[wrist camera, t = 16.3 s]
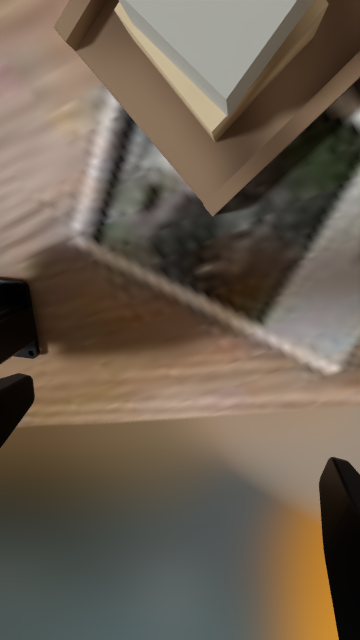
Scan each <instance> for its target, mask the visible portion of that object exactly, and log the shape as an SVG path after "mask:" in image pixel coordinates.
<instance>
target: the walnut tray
mask: <svg viewBox="0 0 360 640" xmlns="http://www.w3.org/2000/svg"><path fill="white" fill-rule="evenodd" d="M326 1H327V2H328V4H329V5H328V7H327V9H326V11H325V13H324V15H323V18H322V20H321V22H320V24H319V26H318V29H317V31H316V33H315V35H314V37H313V38H312V40H311V41H310V42H309V43H308V44H307V45H306V46H305V47H304V48H303V49H302V50H301V51H300V52H299V53H298V54H297V56H296V57H295V58H294V59H293V60H292V61H291V62H290V63H289V64H288V65H287V66H286V67H285V68H284V69H283V71H282V72H281V73H280V74H279V75H278V76H277V77H276V78H275V79H274V80H273V81H272V82H271V83H270V84H269V85H268V87H267V88H266V89H265V90H264V91H263V92H262V93H261V94H260V95H259V96H258V97H257V98H256V99H255V100H254V102H253V103H252V104H251V105H250V106H249V107H248V108H247V109H246V110H245V111H244V112H243V113H242V114H241V115H240V116H239V118H238V119H237V120H236V121H235V122H234V123H233V124H232V125H231V126H230V127H229V128H228V129H227V130H226V131H225V133H224V134H223V135H222V136H221V137H220V138H219V139H218V140H217V141H216V142H215V141H214V140H213V139H212V138H211V136H210V135H209V134H208V133H207V131H206V130H205V129H204V128H203V126H202V125H201V124H200V123H199V121H198V120H197V119H196V118H195V116H194V115H193V114H192V113H191V111H190V110H189V109H188V108H187V106H186V105H185V104H184V103H183V101H182V100H181V99H180V98H179V96H178V95H177V94H176V93H175V91H174V90H173V89H172V88H171V86H170V85H169V84H168V83H167V81H166V80H165V79H164V78H163V76H162V75H161V74H160V73H159V71H158V70H157V69H156V68H155V66H154V65H153V64H152V63H151V61H150V60H149V59H148V58H147V56H146V55H145V54H144V53H143V51H142V50H141V49H140V48H139V46H138V45H137V44H136V43H135V41H134V40H133V39H132V37H131V36H130V34H129V32H128V31H127V29H126V28H125V26H124V25H123V23H122V21H121V20H120V18H119V17H118V15H117V14H116V12H115V10H114V9H115V8H116V6H117V4H118V3H119V0H69V2H68V4H67V5H66V7H65V9H64V11H63V12H62V14H61V16H60V18H59V19H58V21H57V23H56V24H55V26H54V29H55V30H56V31H57V32H58V33H59V35H60V36H61V37H62V38H63V39H64V41H65V42H66V43H67V44H68V45H69V46H71V47H72V48H73V49H74V50H75V51H76V52H77V54H78V55H79V56H80V57H81V58H82V59H83V61H84V62H85V63H86V64H87V65H88V67H89V68H90V69H91V70H92V71H93V73H94V74H95V75H96V76H97V77H98V78H99V80H100V81H101V82H102V83H103V84H104V86H105V87H106V88H107V89H108V90H109V92H110V93H111V94H112V95H113V96H114V98H115V99H116V100H117V101H118V102H119V103H120V105H121V106H122V107H123V108H124V109H125V111H126V112H127V113H128V114H129V115H130V117H131V118H132V119H133V120H134V121H135V122H136V124H137V125H138V126H139V127H140V128H141V130H142V131H143V132H144V133H145V134H146V136H147V137H148V138H149V139H150V140H151V142H152V143H153V144H154V145H155V146H156V147H157V149H158V150H159V151H160V152H161V153H162V155H163V156H164V157H165V158H166V159H167V161H168V162H169V163H170V164H171V165H172V166H173V168H174V169H175V170H176V171H177V172H178V174H179V175H180V176H181V177H182V178H183V180H184V181H185V182H186V183H187V184H188V185H189V187H190V188H191V189H192V190H193V191H194V193H195V194H196V195H197V196H198V197H199V199H200V200H201V201H202V202H203V203H204V205H203V206H204V207H205V208H206V209H207V210H208V212H209V213H210V214H211V215H212V216H214V215H216V214H217V213H218V212H219V211H220V210H221V209H222V208H223V207H224V206H225V205H226V204H227V203H228V202H229V201H231V200H232V199H233V198H234V197H235V196H236V195H237V194H238V193H239V192H240V191H241V190H242V189H243V188H244V187H245V186H246V185H247V184H248V183H250V182H251V181H252V180H253V179H254V178H255V177H256V176H257V175H258V174H259V173H260V172H261V171H262V170H263V169H264V168H265V167H266V166H267V165H269V164H270V163H271V162H272V161H273V160H274V159H275V158H276V157H277V156H278V155H279V154H280V153H281V152H282V151H283V150H284V149H285V148H287V147H288V146H289V145H290V144H291V143H292V142H293V141H294V140H295V139H296V138H297V137H298V136H299V135H300V134H301V133H302V132H303V131H304V130H306V129H307V128H308V127H309V126H310V125H311V124H312V123H313V122H314V121H315V120H316V119H317V118H318V117H319V116H320V115H321V114H322V113H323V112H325V111H326V110H327V109H328V108H329V107H330V106H331V105H332V104H333V103H334V102H335V101H336V100H337V99H338V98H339V97H340V96H341V95H343V94H344V93H345V92H346V91H347V90H348V89H349V88H350V87H351V86H352V85H353V84H354V83H355V82H356V81H357V80H358V79H359V78H360V0H326Z"/></svg>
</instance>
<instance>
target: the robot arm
mask: <svg viewBox="0 0 360 640" xmlns="http://www.w3.org/2000/svg"><path fill="white" fill-rule="evenodd" d="M20 286H21V287H22V290H21V289H20ZM32 351H33V353H32ZM39 354H40V351H39V345H38V339H37V333H36V327H35V321H34V315H33V310H32V304H31V298H30V292H29V287H28V285H27V283H25V282H24V281H17V280H5V279H0V364H2V363H3V362H5V361H6V360H8V359H9V358H11V357H12V356H16V357H24V358H32V359H33V358H36V357H37V356H38V355H39ZM34 398H35V395H34V386H33V379H32V377H31V376H29V375H25V374H20V373H18V374H14V375H11V376H8V377H5V378H1V379H0V448H1V446H2V445H3V444H4V443H5V441H6V440H7V439H8V437H9V436H10V434H11V433H12V432H13V430H14V429H15V428H16V426H17V425H18V423H19V422H20V421H21V419H22V418H23V416H24V415H25V414H26V412H27V411H28V410H29V408H30V407H31V405H32V404H33V402H34ZM319 492H320V505H321V521H322V536H323V546H324V555H325V562H326V567H327V573H328V579H329V585H330V591H331V596H332V601H333V607H334V614H335V620H336V625H337V631H338V637H339V640H360V474H359V473H358V472H357V471H356V470H355V469H354V467H353V466H352V465H351V464H350V463H349V462H348V461H346V460H343V459H339V458H335V457H331V458H330V459H329V460H328V462H327V464H326V466H325V468H324V471H323V473H322V475H321V477H320V482H319Z"/></svg>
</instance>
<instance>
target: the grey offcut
mask: <svg viewBox="0 0 360 640" xmlns="http://www.w3.org/2000/svg"><path fill="white" fill-rule="evenodd" d="M119 1H120V3H121V5H122V7H123V8H124V10H125V12H126V14H127V15H128V17H129V19H130V20H131V22H132V24H133V25H134V26H135V27H136V28H137V29H138V30H139V31H140V32H141V33H142V34H143V35H144V36H145V37H146V38H147V39H148V40H149V41H150V42H151V43H153V44H154V45H155V46H156V47H157V48H158V49H159V50H160V51H161V52H162V53H163V54H164V55H165V56H166V57H167V58H168V59H169V60H170V61H171V62H172V63H173V64H174V65H175V66H176V67H177V68H178V69H179V70H180V71H181V72H182V73H183V74H184V75H185V76H186V77H187V78H188V79H189V80H190V81H191V82H192V83H193V84H194V85H195V86H196V87H197V88H198V89H199V90H201V91H202V92H203V93H204V94H205V95H206V96H207V97H208V98H209V99H210V100H211V101H212V102H213V103H214V104H215V105H216V106H217V107H218V108H219V109H220V110H221V111H222V112H223V113H224V114H225V115H226V116H227V117H229V115H230V114H231V113H232V111H233V110H234V109H235V107H236V106H237V105H238V103H239V102H240V100H241V99H242V98H243V96H244V95H245V94H246V92H247V91H248V90H249V88H250V87H251V86H252V84H253V83H254V81H255V80H256V79H257V77H258V76H259V75H260V73H261V72H262V71H263V69H264V68H265V67H266V65H267V64H268V62H269V61H270V60H271V58H272V57H273V56H274V54H275V53H276V52H277V50H278V49H279V48H280V46H281V45H282V43H283V42H284V41H285V39H286V38H287V37H288V35H289V34H290V33H291V31H292V30H293V29H294V27H295V26H296V24H297V23H298V22H299V20H300V19H301V18H302V16H303V15H304V14H305V12H306V11H307V10H308V8H309V7H310V5H311V4H312V3H313V1H314V0H119Z"/></svg>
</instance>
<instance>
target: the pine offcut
mask: <svg viewBox="0 0 360 640" xmlns="http://www.w3.org/2000/svg"><path fill="white" fill-rule="evenodd" d="M328 5H329V4H328V2H327V1H326V0H314V1H313V3H312V4H311V5H310V7H309V8H308V10H307V11H306V12H305V14H304V15H303V16H302V18H301V19H300V20H299V22H298V23H297V24H296V26H295V27H294V29H293V30H292V31H291V33H290V34H289V35H288V37H287V38H286V39H285V41H284V42H283V43H282V45H281V46H280V48H279V49H278V50H277V52H276V53H275V54H274V56H273V57H272V58H271V60H270V61H269V62H268V64H267V65H266V67H265V68H264V69H263V71H262V72H261V73H260V75H259V76H258V77H257V79H256V80H255V81H254V83H253V84H252V86H251V87H250V88H249V90H248V91H247V92H246V94H245V95H244V96H243V98H242V99H241V100H240V102H239V103H238V105H237V106H236V107H235V109H234V110H233V111H232V113H231V114H230V115H229V117H227V116H226V115H225V114H224V113H223V112H222V111H221V110H220V109H219V108H218V107H217V106H216V105H215V104H214V103H213V102H212V101H211V100H210V99H209V98H208V97H207V96H206V95H205V94H204V93H203V92H202V91H201V90H199V89H198V88H197V87H196V86H195V85H194V84H193V83H192V82H191V81H190V80H189V79H188V78H187V77H186V76H185V75H184V74H183V73H182V72H181V71H180V70H179V69H178V68H177V67H176V66H175V65H174V64H173V63H172V62H171V61H170V60H169V59H168V58H167V57H166V56H165V55H164V54H163V53H162V52H161V51H160V50H159V49H158V48H157V47H156V46H155V45H154V44H153V43H151V42H150V41H149V40H148V39H147V38H146V37H145V36H144V35H143V34H142V33H141V32H140V31H139V30H138V29H137V28H136V27H135V26H134V25H133V24H132V22H131V20H130V19H129V17H128V15H127V14H126V12H125V10H124V8H123V7H122V5H121V3H120V1H119V3H118V4H117V6H116V8H115V9H114V10H115V12H116V14H117V15H118V17H119V18H120V20H121V21H122V23H123V25H124V26H125V28H126V29H127V31H128V32H129V34H130V36H131V37H132V39H133V40H134V41H135V43H136V44H137V45H138V46H139V48H140V49H141V50H142V51H143V53H144V54H145V55H146V56H147V58H148V59H149V60H150V61H151V63H152V64H153V65H154V66H155V68H156V69H157V70H158V71H159V73H160V74H161V75H162V76H163V78H164V79H165V80H166V81H167V83H168V84H169V85H170V86H171V88H172V89H173V90H174V91H175V93H176V94H177V95H178V96H179V98H180V99H181V100H182V101H183V103H184V104H185V105H186V106H187V108H188V109H189V110H190V111H191V113H192V114H193V115H194V116H195V118H196V119H197V120H198V121H199V123H200V124H201V125H202V126H203V128H204V129H205V130H206V131H207V133H208V134H209V135H210V136H211V138H212V139H213V140H214V141H215V142H216V141H217V140H218V139H219V138H220V137H221V136H222V135H223V134H224V133H225V131H226V130H227V129H228V128H229V127H230V126H231V125H232V124H233V123H234V122H235V121H236V120H237V119H238V118H239V116H240V115H241V114H242V113H243V112H244V111H245V110H246V109H247V108H248V107H249V106H250V105H251V104H252V103H253V102H254V100H255V99H256V98H257V97H258V96H259V95H260V94H261V93H262V92H263V91H264V90H265V89H266V88H267V87H268V85H269V84H270V83H271V82H272V81H273V80H274V79H275V78H276V77H277V76H278V75H279V74H280V73H281V72H282V71H283V69H284V68H285V67H286V66H287V65H288V64H289V63H290V62H291V61H292V60H293V59H294V58H295V57H296V56H297V54H298V53H299V52H300V51H301V50H302V49H303V48H304V47H305V46H306V45H307V44H308V43H309V42H310V41H311V40H312V38H313V37H314V35H315V33H316V31H317V29H318V26H319V24H320V22H321V20H322V18H323V15H324V13H325V11H326V9H327V7H328Z"/></svg>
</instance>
